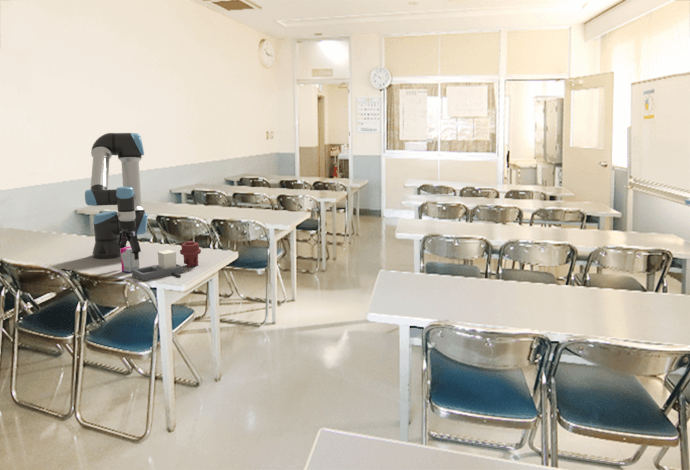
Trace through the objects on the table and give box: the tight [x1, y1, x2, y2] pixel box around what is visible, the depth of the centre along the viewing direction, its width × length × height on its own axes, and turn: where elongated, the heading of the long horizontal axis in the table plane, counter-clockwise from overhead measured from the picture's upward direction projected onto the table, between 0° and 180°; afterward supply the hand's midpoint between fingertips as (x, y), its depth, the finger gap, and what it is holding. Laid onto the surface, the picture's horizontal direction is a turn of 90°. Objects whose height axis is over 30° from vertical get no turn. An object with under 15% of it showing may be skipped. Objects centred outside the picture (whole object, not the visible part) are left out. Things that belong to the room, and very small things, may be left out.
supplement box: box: [120, 245, 140, 274], centre depth 254 cm, size 6×6×12 cm
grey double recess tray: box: [131, 249, 184, 282], centre depth 247 cm, size 18×20×10 cm
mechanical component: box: [179, 240, 202, 268], centre depth 264 cm, size 12×10×10 cm
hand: (130, 263), depth 254 cm, fingers open, 13 cm apart
